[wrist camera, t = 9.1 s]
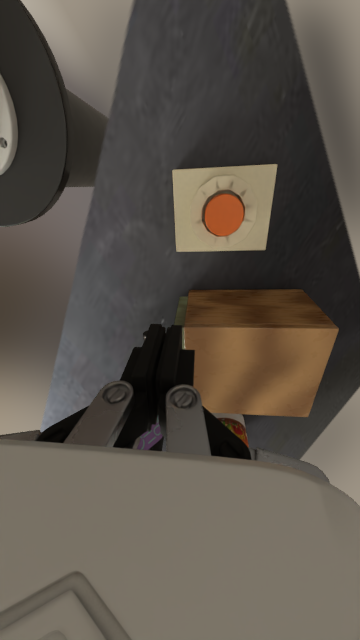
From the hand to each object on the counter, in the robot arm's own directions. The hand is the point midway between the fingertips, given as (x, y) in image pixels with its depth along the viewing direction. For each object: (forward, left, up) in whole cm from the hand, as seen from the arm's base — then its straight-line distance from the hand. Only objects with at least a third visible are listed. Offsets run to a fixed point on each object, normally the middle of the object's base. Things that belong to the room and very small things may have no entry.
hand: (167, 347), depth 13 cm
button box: (0, +6, -19) cm, 20 cm away
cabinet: (+12, -5, -19) cm, 23 cm away
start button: (0, +6, -16) cm, 17 cm away
